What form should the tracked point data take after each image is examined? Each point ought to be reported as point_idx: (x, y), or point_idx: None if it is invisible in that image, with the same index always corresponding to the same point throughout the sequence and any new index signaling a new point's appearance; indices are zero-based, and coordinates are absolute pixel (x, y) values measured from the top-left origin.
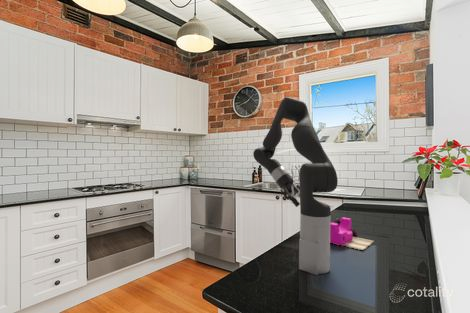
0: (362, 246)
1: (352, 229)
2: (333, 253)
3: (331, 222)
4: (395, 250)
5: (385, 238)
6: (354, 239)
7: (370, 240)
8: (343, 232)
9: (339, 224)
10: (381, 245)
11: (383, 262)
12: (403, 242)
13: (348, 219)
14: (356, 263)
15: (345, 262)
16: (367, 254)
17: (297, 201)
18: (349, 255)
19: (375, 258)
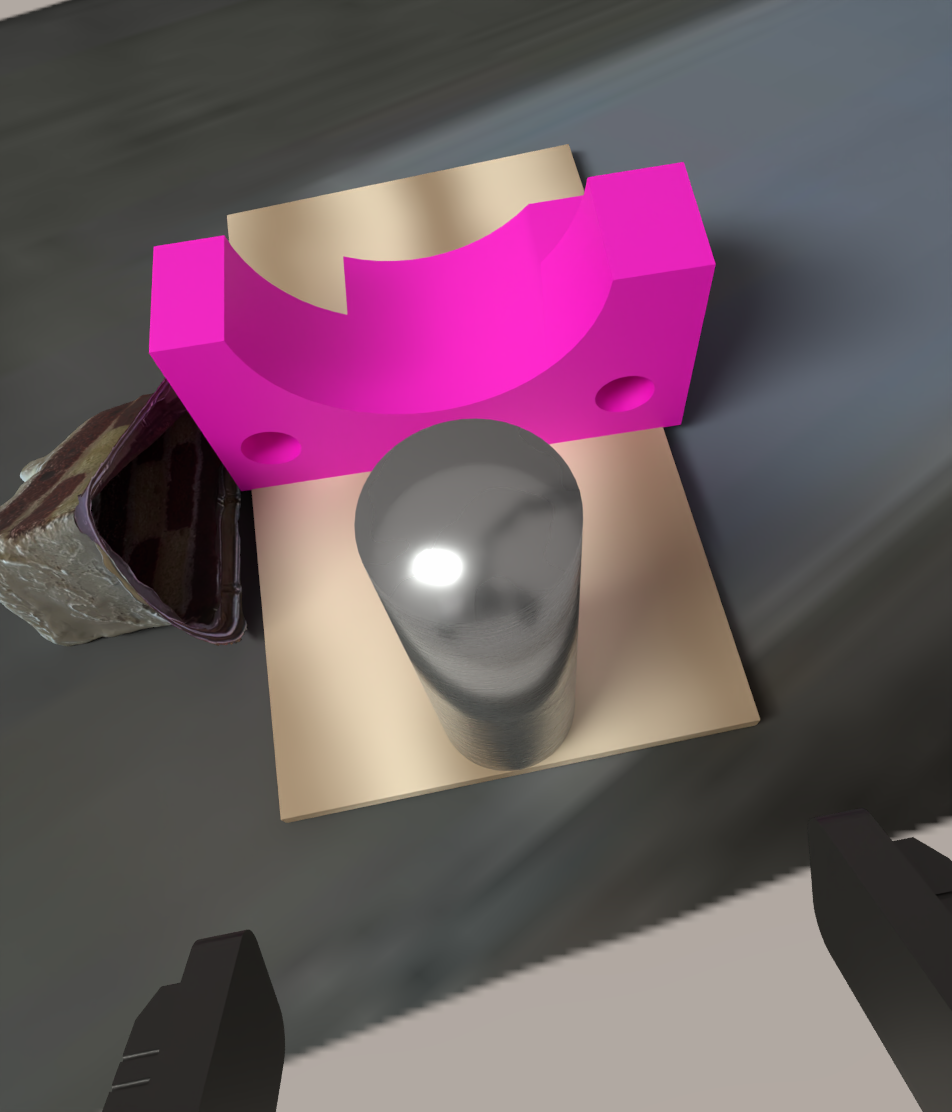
0: (486, 183)
1: None
2: (858, 240)
3: (610, 255)
4: (306, 72)
5: (6, 241)
6: None
7: (241, 233)
8: (576, 204)
9: (45, 586)
10: (263, 166)
11: (649, 4)
12: (26, 127)
13: (224, 246)
14: (859, 62)
15: (927, 101)
16: (597, 114)
17: (898, 868)
18: (760, 160)
19: (625, 55)
